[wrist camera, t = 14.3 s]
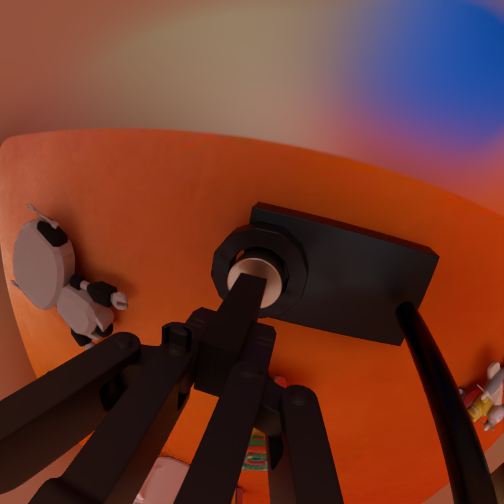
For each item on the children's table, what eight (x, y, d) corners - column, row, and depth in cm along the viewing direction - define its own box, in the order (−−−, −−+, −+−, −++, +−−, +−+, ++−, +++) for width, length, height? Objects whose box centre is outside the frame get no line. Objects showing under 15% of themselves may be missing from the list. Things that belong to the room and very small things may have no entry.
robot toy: (147, 285, 27) (50, 191, 25) (125, 309, 23) (20, 201, 21) (106, 345, 32) (26, 266, 29) (87, 368, 27) (3, 281, 25)
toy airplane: (437, 406, 25) (450, 448, 19) (480, 344, 21) (505, 384, 15) (485, 407, 23) (500, 442, 18) (525, 352, 20) (548, 385, 14)
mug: (211, 482, 38) (194, 528, 28) (171, 477, 40) (152, 518, 31) (178, 449, 35) (153, 500, 26) (137, 445, 38) (111, 488, 28)
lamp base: (221, 290, 25) (205, 313, 21) (236, 196, 22) (221, 205, 18) (394, 331, 23) (405, 360, 19) (429, 247, 20) (449, 265, 16)
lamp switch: (230, 289, 20) (223, 300, 19) (238, 243, 19) (231, 252, 18) (278, 301, 20) (274, 314, 18) (289, 256, 19) (287, 266, 17)
